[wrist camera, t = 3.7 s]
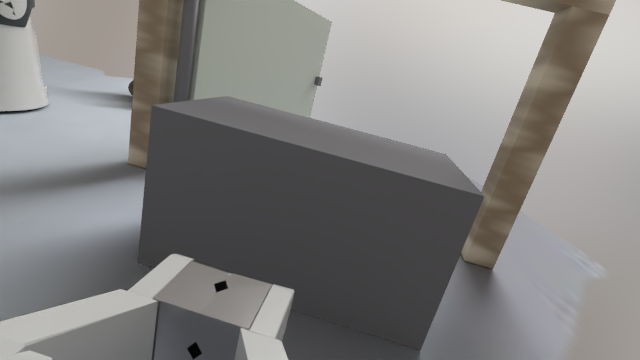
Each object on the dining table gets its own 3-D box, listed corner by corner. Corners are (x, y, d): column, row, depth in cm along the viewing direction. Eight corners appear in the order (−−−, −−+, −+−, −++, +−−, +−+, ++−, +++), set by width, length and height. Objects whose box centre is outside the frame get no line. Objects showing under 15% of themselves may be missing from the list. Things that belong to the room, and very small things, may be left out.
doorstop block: (137, 264, 19) (151, 104, 17) (211, 206, 28) (229, 95, 26) (419, 352, 18) (484, 196, 15) (405, 263, 27) (445, 153, 24)
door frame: (128, 163, 32) (147, -123, 25) (144, 157, 34) (166, -107, 27) (492, 269, 29) (624, -19, 23) (484, 255, 32) (601, -10, 25)
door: (180, 171, 32) (206, -52, 26) (157, 162, 32) (178, -57, 27) (308, 141, 56) (335, 22, 51) (293, 136, 57) (318, 19, 51)
